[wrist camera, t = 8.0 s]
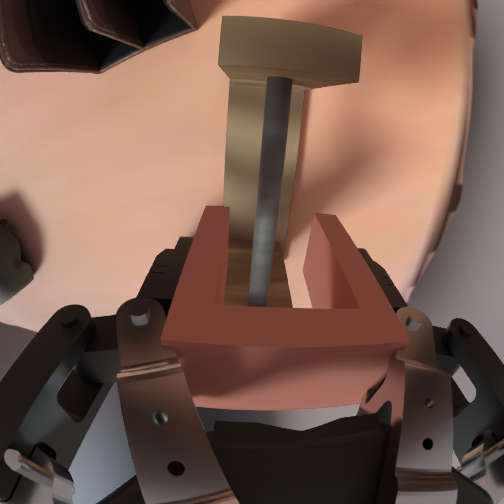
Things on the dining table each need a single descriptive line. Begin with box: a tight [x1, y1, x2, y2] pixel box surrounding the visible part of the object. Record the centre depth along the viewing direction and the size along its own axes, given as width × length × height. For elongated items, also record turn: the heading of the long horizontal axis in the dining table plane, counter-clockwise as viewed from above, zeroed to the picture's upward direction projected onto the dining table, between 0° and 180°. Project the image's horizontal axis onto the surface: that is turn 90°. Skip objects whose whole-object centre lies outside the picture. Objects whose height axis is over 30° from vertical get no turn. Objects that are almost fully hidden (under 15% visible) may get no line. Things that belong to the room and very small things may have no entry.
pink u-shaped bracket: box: [161, 206, 409, 410], centre depth 9 cm, size 3×6×7 cm, turn 86°
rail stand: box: [218, 16, 362, 308], centre depth 17 cm, size 20×6×14 cm, turn 176°
